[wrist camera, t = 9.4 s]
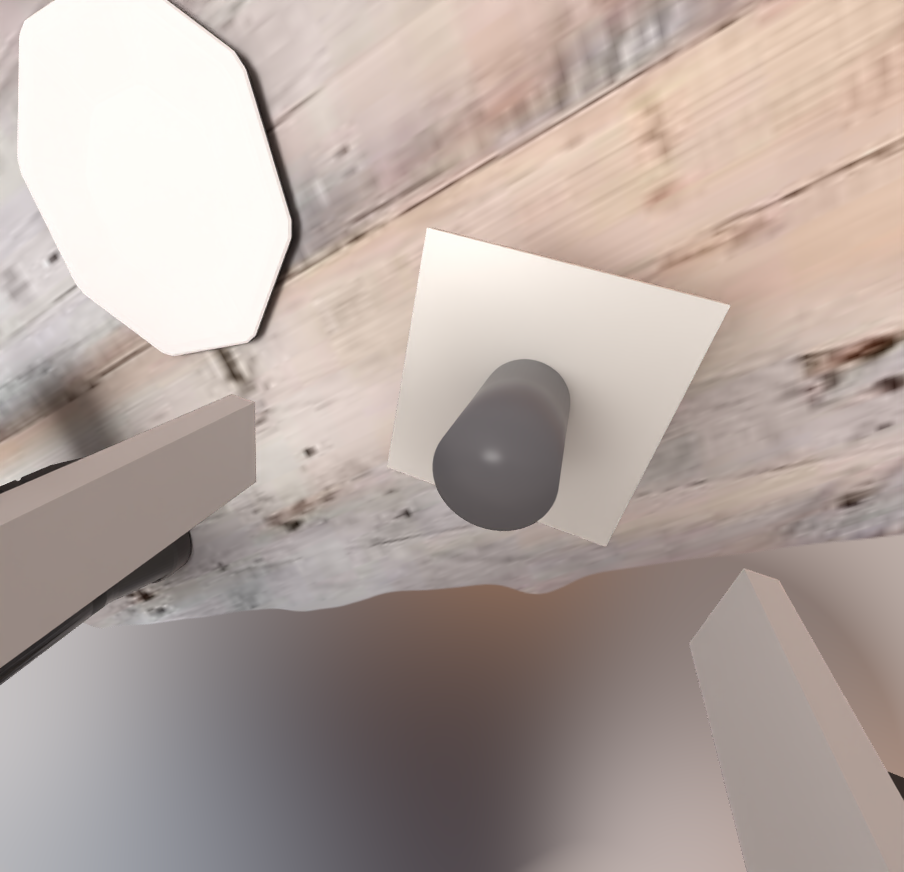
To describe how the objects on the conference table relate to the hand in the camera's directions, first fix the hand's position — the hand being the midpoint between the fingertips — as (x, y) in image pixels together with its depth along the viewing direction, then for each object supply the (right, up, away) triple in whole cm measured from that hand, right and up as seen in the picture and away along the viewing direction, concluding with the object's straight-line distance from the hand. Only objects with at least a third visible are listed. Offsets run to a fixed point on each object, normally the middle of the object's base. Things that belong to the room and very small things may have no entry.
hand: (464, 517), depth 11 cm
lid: (+3, +4, +9) cm, 10 cm away
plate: (-23, +21, +22) cm, 38 cm away
